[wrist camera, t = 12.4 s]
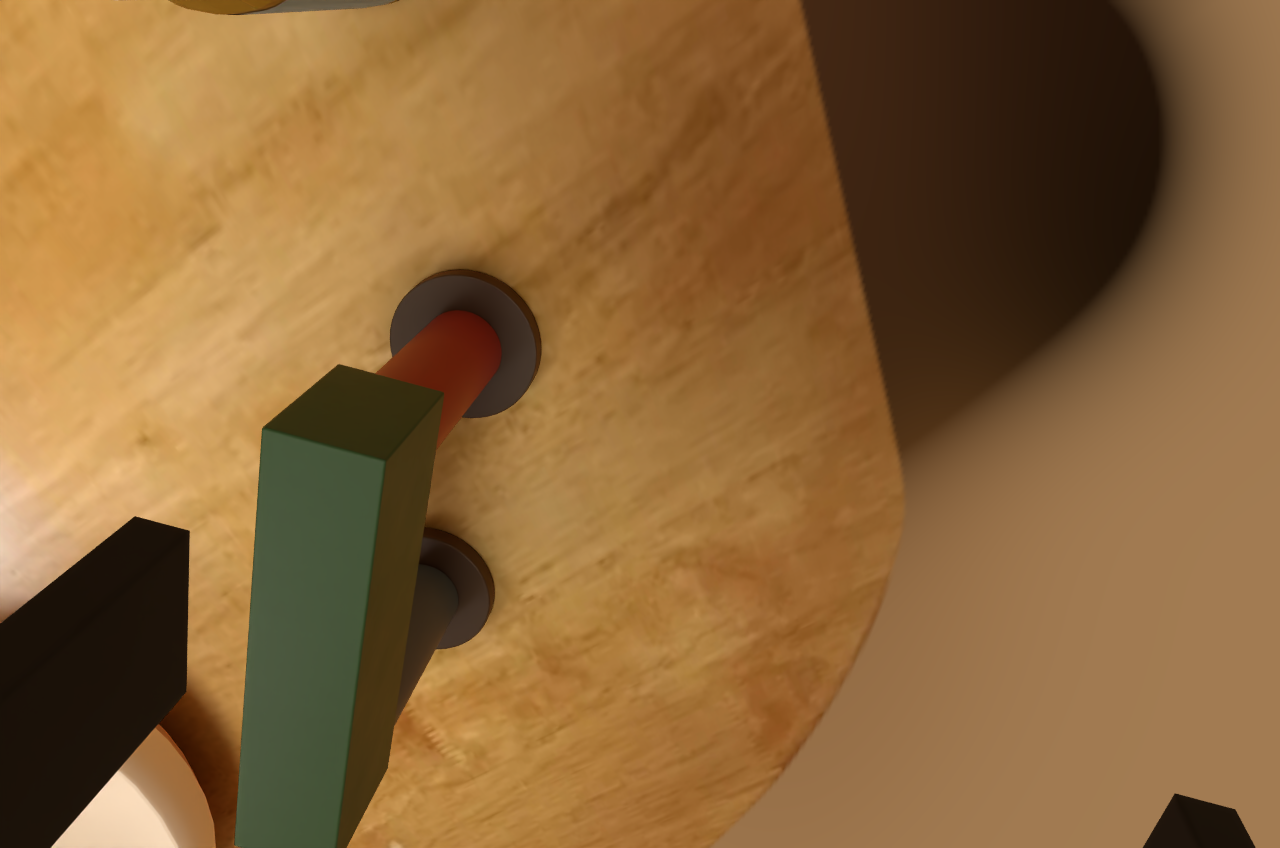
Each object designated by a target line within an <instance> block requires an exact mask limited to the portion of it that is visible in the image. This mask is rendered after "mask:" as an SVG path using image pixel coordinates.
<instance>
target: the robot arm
mask: <svg viewBox="0 0 1280 848" xmlns="http://www.w3.org/2000/svg"><path fill="white" fill-rule="evenodd" d="M189 538H190V531H188V530H184V529H181V528H177V527H173V526H169V525H166V524H162V523H158V522H154V521H151V520H147V519H143V518H139V517H136V516H135V517H133V518H132V519H131V520H130V521H128V522H127V523H126V524H125V525H123V526H122V527H121V528H120V529H118V530H117V531H116V532H115V533H113V534H112V535H111V536H110V537H108V538H107V539H106V540H105V541H103V542H102V543H101V544H100V545H98V546H97V547H96V548H95V549H93V550H92V551H91V552H90V553H88V554H87V555H86V556H85V557H83V558H82V559H81V560H80V561H78V562H77V563H76V564H75V565H73V566H72V567H71V568H69V569H68V570H67V571H66V572H64V573H63V574H62V575H61V576H59V577H58V578H57V579H56V580H54V581H53V582H52V583H51V584H49V585H48V586H47V587H46V588H44V589H43V590H42V591H41V592H39V593H38V594H37V595H36V596H34V597H33V598H32V599H31V600H29V601H28V602H27V603H26V604H24V605H23V606H22V607H21V608H19V609H18V610H17V611H16V612H14V613H13V614H12V615H11V616H9V617H8V618H7V619H6V620H4V621H3V622H2V623H1V624H0V848H51V847H52V846H53V845H54V844H55V842H56V841H57V840H58V839H59V838H60V837H61V836H62V834H63V833H64V832H65V831H66V830H67V829H68V827H69V826H70V825H71V824H72V823H73V822H74V821H75V819H76V818H77V817H78V816H79V815H80V814H81V812H82V811H83V810H84V809H85V808H86V807H87V806H88V804H89V803H90V802H91V801H92V800H93V799H94V798H95V796H96V795H97V794H98V793H99V792H100V791H101V789H102V788H103V787H104V786H105V785H106V784H107V783H108V781H109V780H110V779H111V778H112V777H113V776H114V775H115V773H116V772H117V771H118V770H119V769H120V768H121V766H122V765H123V764H124V763H125V762H126V761H127V760H128V758H129V757H130V756H131V755H132V754H133V753H134V751H135V750H136V749H137V748H138V747H139V746H140V745H141V743H142V742H143V741H144V740H145V739H146V738H147V737H148V735H149V734H150V733H151V732H152V731H153V730H154V728H155V727H156V726H157V725H158V724H159V723H160V722H161V720H162V719H163V718H164V717H165V716H166V715H167V714H168V712H169V711H170V710H171V709H172V708H173V707H174V705H175V704H176V703H177V702H178V701H179V700H180V699H181V697H182V696H183V695H184V694H185V693H186V686H187V636H188V587H189ZM1143 848H1255V846H1254V844H1253V842H1252V840H1251V839H1250V836H1249V834H1248V833H1247V831H1246V829H1245V827H1244V825H1243V823H1242V821H1241V819H1240V818H1239V816H1238V814H1237V812H1236V810H1235V809H1232V808H1227V807H1224V806H1220V805H1216V804H1212V803H1208V802H1205V801H1201V800H1198V799H1194V798H1190V797H1186V796H1183V795H1179V794H1174V796H1173V797H1172V799H1171V801H1170V803H1169V805H1168V806H1167V808H1166V809H1165V811H1164V813H1163V815H1162V816H1161V818H1160V819H1159V821H1158V823H1157V825H1156V826H1155V828H1154V830H1153V831H1152V833H1151V835H1150V837H1149V838H1148V840H1147V842H1146V843H1145V845H1144V847H1143Z"/></svg>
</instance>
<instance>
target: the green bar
mask: <svg viewBox="0 0 1280 848" xmlns="http://www.w3.org/2000/svg"><path fill="white" fill-rule="evenodd" d="M443 400H444V392H442V391H438V390H434V389H430V388H427V387H423V386H419V385H415V384H412V383H408V382H404V381H400V380H397V379H393V378H389V377H385V376H382V375H378V374H374V373H370V372H367V371H363V370H359V369H355V368H352V367H348V366H344V365H340V364H339V365H337V366H336V367H335V368H333V369H332V370H331V371H330V372H329V373H327V374H326V375H325V376H324V377H323V378H321V379H320V380H319V381H318V382H317V383H315V384H314V385H313V386H312V387H311V388H309V389H308V390H307V391H306V392H305V393H303V394H302V395H301V396H300V397H299V398H297V399H296V400H295V401H294V402H293V403H291V404H290V405H289V406H288V407H287V408H285V409H284V410H283V411H282V412H281V413H279V414H278V415H277V416H276V417H275V418H273V419H272V420H271V421H270V422H269V423H267V424H266V425H265V426H264V427H263V428H262V439H261V454H260V469H259V484H258V498H257V513H256V528H255V543H254V558H253V573H252V588H251V603H250V618H249V633H248V648H247V663H246V678H245V693H244V708H243V723H242V738H241V753H240V767H239V782H238V797H237V812H236V827H235V842H234V845H235V846H238V847H241V848H346V847H347V846H348V844H349V842H350V840H351V838H352V836H353V834H354V832H355V830H356V828H357V826H358V824H359V822H360V821H361V819H362V817H363V815H364V813H365V811H366V809H367V807H368V805H369V803H370V801H371V799H372V797H373V795H374V794H375V792H376V790H377V788H378V786H379V784H380V782H381V780H382V778H383V776H384V774H385V772H386V770H387V769H388V762H389V756H390V749H391V742H392V736H393V729H394V723H395V716H396V710H397V703H398V696H399V690H400V683H401V677H402V670H403V664H404V657H405V650H406V644H407V637H408V631H409V624H410V618H411V611H412V604H413V598H414V591H415V585H416V578H417V571H418V565H419V558H420V552H421V545H422V539H423V532H424V525H425V519H426V512H427V506H428V499H429V493H430V486H431V479H432V473H433V466H434V460H435V453H436V447H437V440H438V433H439V427H440V420H441V414H442V407H443Z"/></svg>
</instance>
